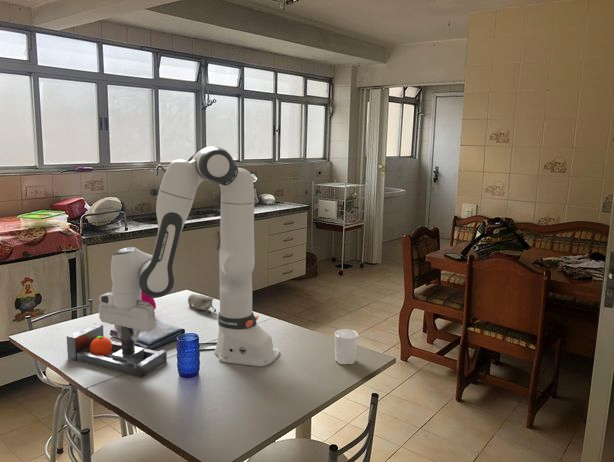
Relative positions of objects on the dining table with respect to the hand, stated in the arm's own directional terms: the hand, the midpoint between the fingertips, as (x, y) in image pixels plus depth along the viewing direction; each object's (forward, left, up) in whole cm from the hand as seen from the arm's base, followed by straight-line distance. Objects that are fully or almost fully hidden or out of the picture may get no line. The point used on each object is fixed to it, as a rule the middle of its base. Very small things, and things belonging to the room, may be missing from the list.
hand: (128, 338), depth 163 cm
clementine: (+12, 0, -9) cm, 15 cm away
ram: (0, 0, -8) cm, 8 cm away
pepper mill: (+22, -35, -9) cm, 42 cm away
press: (+5, 0, -8) cm, 10 cm away
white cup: (-63, -33, -9) cm, 72 cm away
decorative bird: (+7, -53, -9) cm, 54 cm away
